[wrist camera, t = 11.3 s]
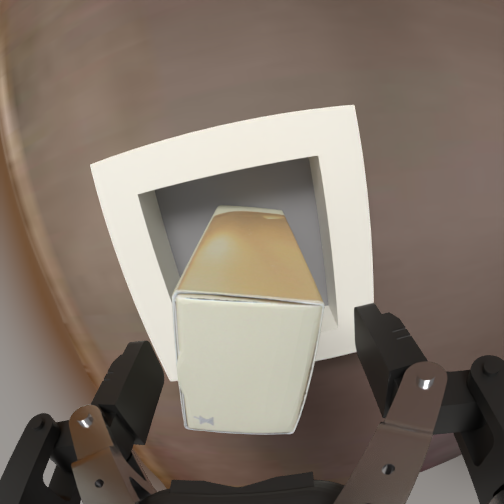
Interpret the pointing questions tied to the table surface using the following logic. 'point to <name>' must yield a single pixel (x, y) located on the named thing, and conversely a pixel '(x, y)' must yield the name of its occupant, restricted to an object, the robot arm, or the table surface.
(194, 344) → the skincare box
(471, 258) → the table surface
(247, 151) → the holder
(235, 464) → the table surface
